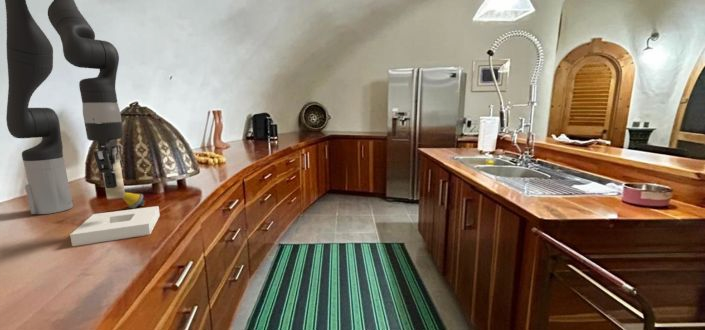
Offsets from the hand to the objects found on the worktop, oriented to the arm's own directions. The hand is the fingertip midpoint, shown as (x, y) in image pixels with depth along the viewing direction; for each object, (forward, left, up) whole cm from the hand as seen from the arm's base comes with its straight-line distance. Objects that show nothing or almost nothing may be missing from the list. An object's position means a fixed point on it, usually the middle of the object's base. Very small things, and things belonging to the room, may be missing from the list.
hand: (114, 185), depth 82 cm
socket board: (0, 0, -12) cm, 12 cm away
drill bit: (-1, +20, -13) cm, 24 cm away
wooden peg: (0, 0, -3) cm, 3 cm away
